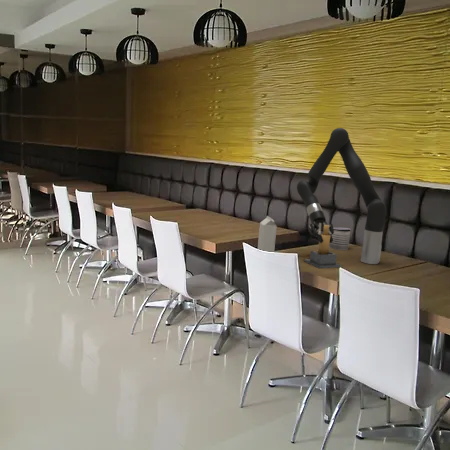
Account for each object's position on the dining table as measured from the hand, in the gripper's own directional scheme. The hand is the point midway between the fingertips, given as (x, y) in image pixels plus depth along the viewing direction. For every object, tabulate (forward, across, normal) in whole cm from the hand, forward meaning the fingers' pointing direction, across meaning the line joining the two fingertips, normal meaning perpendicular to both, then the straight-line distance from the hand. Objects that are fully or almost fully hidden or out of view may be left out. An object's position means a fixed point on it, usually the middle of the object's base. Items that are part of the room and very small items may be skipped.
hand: (326, 241), depth 262 cm
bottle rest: (+7, 0, +10) cm, 12 cm away
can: (-15, +34, +32) cm, 50 cm away
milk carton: (-13, -17, +30) cm, 37 cm away
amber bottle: (+4, 0, +7) cm, 8 cm away
